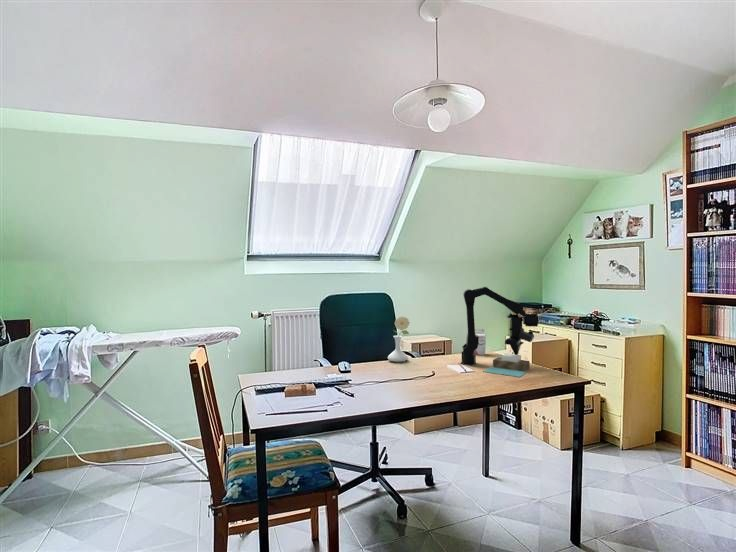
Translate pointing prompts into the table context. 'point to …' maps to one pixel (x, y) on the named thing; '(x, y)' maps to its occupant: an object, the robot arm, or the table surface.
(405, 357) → the flower in vase
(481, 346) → the ink cartridge box
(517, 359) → the tile
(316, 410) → the table surface
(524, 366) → the brown rectangular block
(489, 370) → the mat
